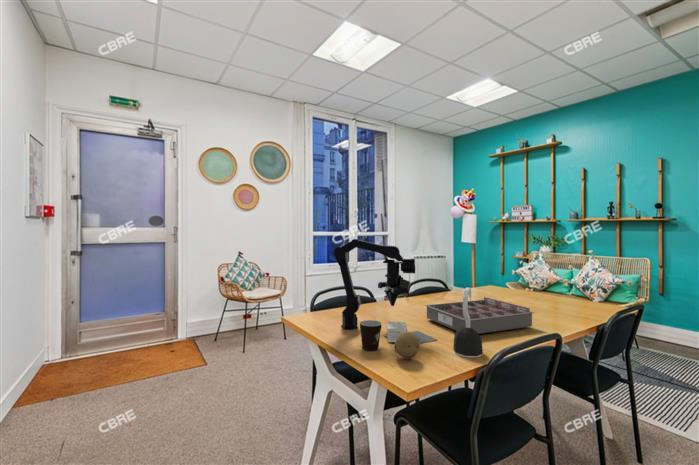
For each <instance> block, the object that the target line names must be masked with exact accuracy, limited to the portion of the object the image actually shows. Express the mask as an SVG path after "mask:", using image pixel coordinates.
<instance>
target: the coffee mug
mask: <svg viewBox="0 0 699 465" xmlns="http://www.w3.org/2000/svg"><path fill="white" fill-rule="evenodd" d="M359 329H360V330H359V331H360V337H361V340H360V341H361V346H362V347H361V348H362V350H363V351H366V352H376V351H378V350H379V346H380V338H381V331H382V322H381V321H379V320H372V319H366V320H362V321H360V322H359Z"/></svg>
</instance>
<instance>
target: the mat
mask: <svg viewBox="0 0 699 465" xmlns="http://www.w3.org/2000/svg"><path fill="white" fill-rule="evenodd" d="M410 332H411V333H413V334H415V335H416V336H417V338H418V340H419V343H420V344H424V343H432V342H436V341H438V339H437V338H435V337H432V336H430V335H428V334H426V333H424V332H421V331H419V330H413V331H410ZM383 336H384V338H386V339H387V335H383Z"/></svg>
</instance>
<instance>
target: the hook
mask: <svg viewBox="0 0 699 465" xmlns="http://www.w3.org/2000/svg"><path fill="white" fill-rule="evenodd" d="M468 301H472V289H471V287H467V286H465V288H464V291H463V296H462V302H463V315H464V318H465V320H466V327H463V328H461V329H459V330H457V331H456V332H455V333H454V337H453V347H452V350H453V352H454V354H455V355H457V356H459V357H464V358H473V357H477V358H479V357H482V356H483V355H484V351H483V350H484V349H483V341H482V340H483V339H482V337H481V335H480V333H479V334H478V332H477V331H476V330H475V329H473V328H471V327H470V316H469V314H468ZM481 355H482V356H481Z"/></svg>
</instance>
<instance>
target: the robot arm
mask: <svg viewBox="0 0 699 465" xmlns="http://www.w3.org/2000/svg"><path fill="white" fill-rule="evenodd" d="M356 248H357V249H362V250H366V251H370V252H374V253H378V254H381V256H382V255H383V256H384V257H386V258H385V260H383V261H382V263H383V264H386V274H384V277H385V278H386V281H379V282H378V283H377V288H378V289H383V288H385V289H384V290H383V291H384V293H385V295H386V298H387V299H388V300H387V301H389V304H390V306H391V307H395V304H396V302H397V298H398V296H399V295H406V294H408V295H409V294H410V289H409V286H410V283H411V281H410V280H407V279H404V277H403V276H402V275H401V274H400V272H402V273H403V274H413V275H414V274H416V262H415V261H416V259H415V258H404V257H403V256H402V255H401V254H400V249H399V248H398V246H396V245H385V244H384V245H382V244H377V243H374V242H369V241H365V240H360V239H358V238H353V239H351V240H350V241H349V242H347V243H346V244H345V245H341V246H337V247H335V248H334V249H333V256H334V258H335V261H336V263H337V264H338V266H339V270H340V273H341V277H342V278H341V279H342V282H343V285H344V290H345V291H344V292H345V294H346V297H345V304H346V305H345V306H346V307H344V309H343V310H342V311H341V314H342V315H341V316H342V318H341V320H342V321H341V322H342V323H341V324H340V327H341V328H343V330H354V329H355V330H356V329H359V326H358V323H359V322H358V320H359V318H358V316H357V314H356V313H357V312H358V311H359V309H360V307H361V304H362V300H361V298H360V294H357V293H356V291H355V288H354V283H353V279H352V275H351V272H350V267H349V266H350V265H349V253H350V252H351V251H352V250H354V249H356ZM395 260H396V261H395Z"/></svg>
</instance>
